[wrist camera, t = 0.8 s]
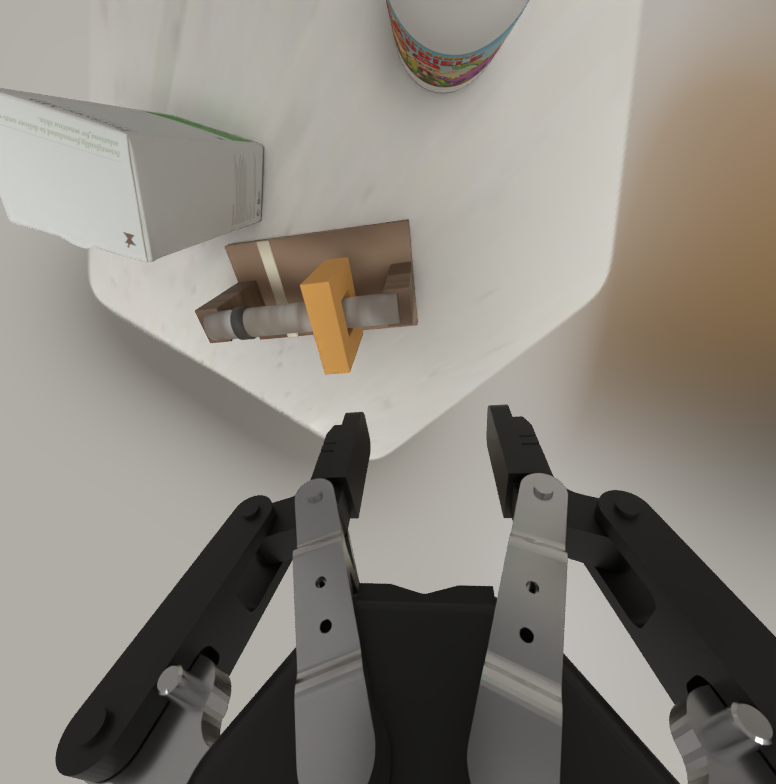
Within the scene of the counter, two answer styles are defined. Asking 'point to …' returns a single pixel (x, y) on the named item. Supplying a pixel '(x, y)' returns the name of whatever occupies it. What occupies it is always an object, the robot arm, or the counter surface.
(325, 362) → the collar
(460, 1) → the milk bottle
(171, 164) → the skincare box
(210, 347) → the counter surface
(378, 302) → the pipe stand
